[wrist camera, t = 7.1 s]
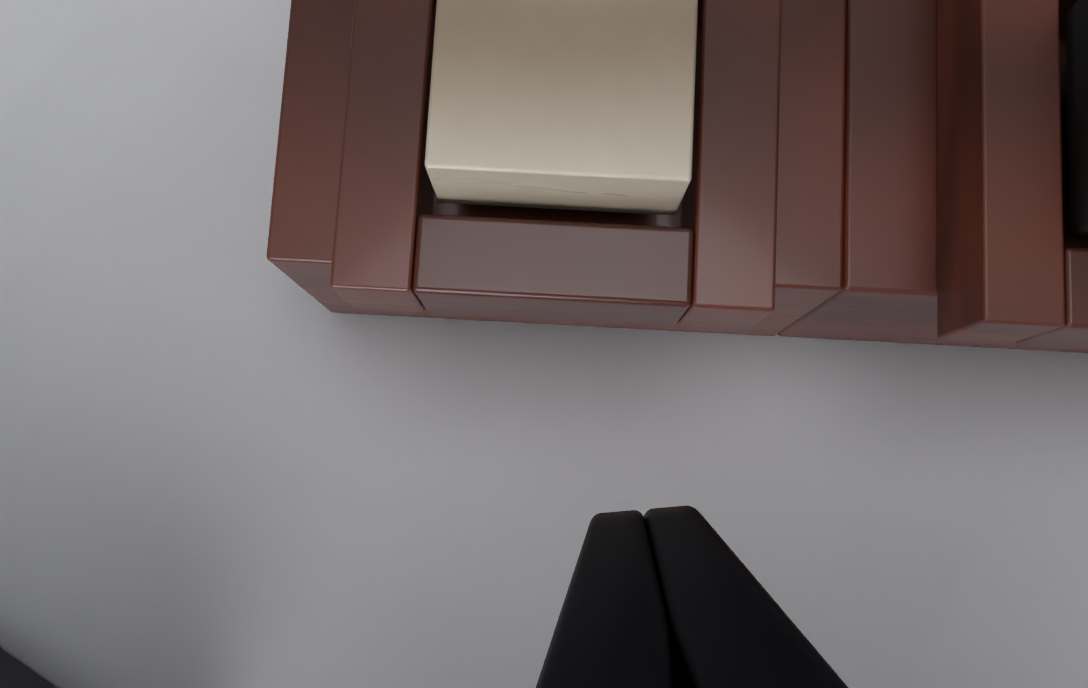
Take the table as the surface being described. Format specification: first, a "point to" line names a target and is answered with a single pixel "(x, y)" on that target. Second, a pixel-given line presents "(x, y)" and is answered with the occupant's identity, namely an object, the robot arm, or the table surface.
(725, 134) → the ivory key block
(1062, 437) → the table surface
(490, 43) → the ivory key
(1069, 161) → the black key
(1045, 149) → the brown wooden block
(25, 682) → the red and cream box
